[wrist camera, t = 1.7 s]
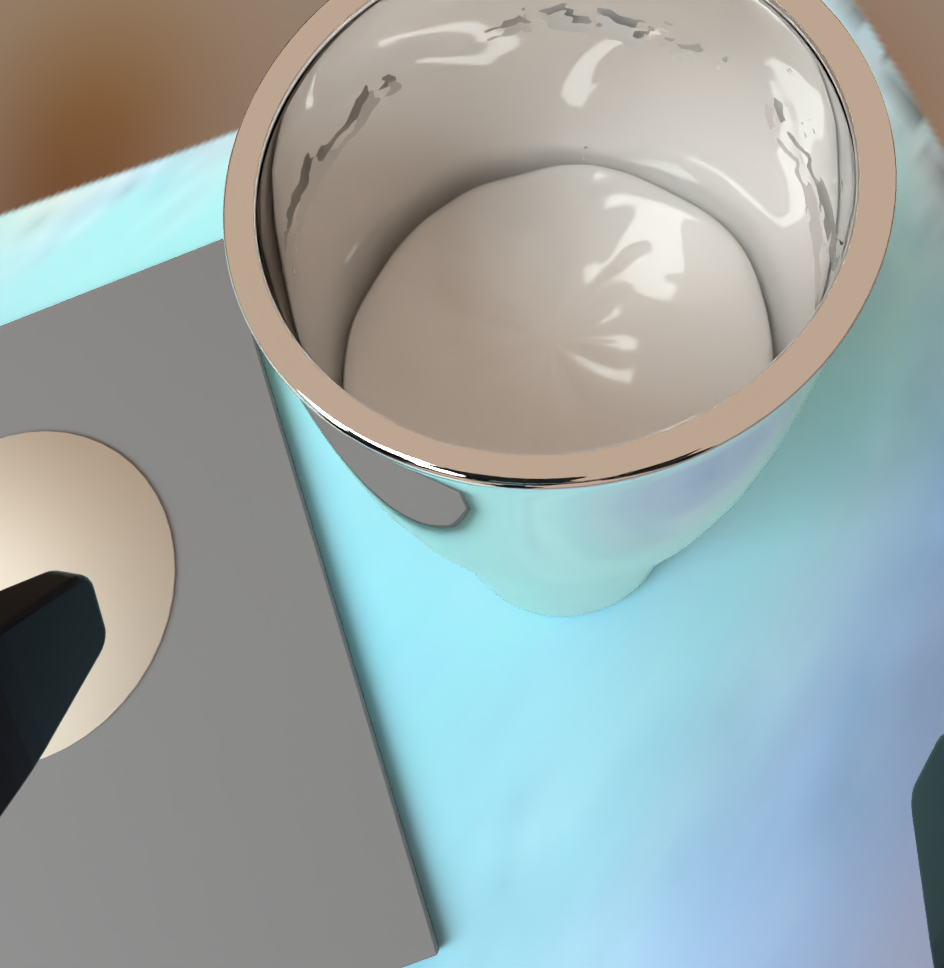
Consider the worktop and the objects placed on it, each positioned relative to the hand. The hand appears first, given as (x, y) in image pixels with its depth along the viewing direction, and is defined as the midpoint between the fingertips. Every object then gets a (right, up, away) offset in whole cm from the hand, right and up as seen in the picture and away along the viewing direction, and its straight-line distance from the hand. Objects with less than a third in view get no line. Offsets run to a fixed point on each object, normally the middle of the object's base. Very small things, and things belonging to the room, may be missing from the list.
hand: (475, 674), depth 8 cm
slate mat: (-13, -3, +15) cm, 20 cm away
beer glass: (+2, +1, +14) cm, 14 cm away
